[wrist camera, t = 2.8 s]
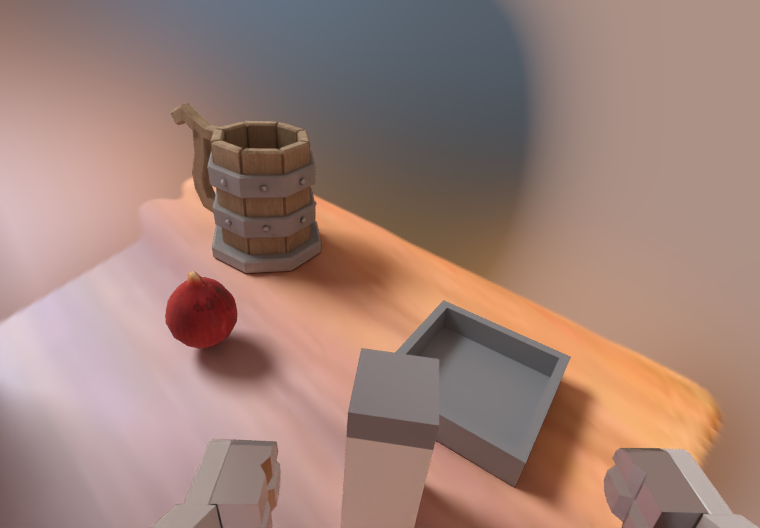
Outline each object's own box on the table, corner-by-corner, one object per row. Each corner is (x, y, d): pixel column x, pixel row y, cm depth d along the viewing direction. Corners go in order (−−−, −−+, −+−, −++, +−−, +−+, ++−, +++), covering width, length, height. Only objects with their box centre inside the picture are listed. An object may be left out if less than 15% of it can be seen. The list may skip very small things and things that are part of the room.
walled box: (514, 487, 32) (525, 463, 31) (370, 401, 38) (372, 376, 36) (560, 380, 41) (570, 356, 40) (438, 322, 47) (443, 300, 45)
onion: (248, 326, 44) (241, 258, 39) (227, 370, 39) (216, 298, 35) (190, 320, 44) (176, 251, 40) (161, 363, 39) (142, 290, 35)
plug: (410, 544, 29) (439, 425, 22) (340, 532, 29) (348, 412, 22) (413, 477, 32) (439, 359, 26) (351, 468, 33) (361, 348, 26)
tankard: (338, 241, 59) (343, 126, 50) (269, 287, 49) (260, 155, 41) (230, 196, 67) (219, 90, 58) (154, 228, 58) (127, 108, 49)
